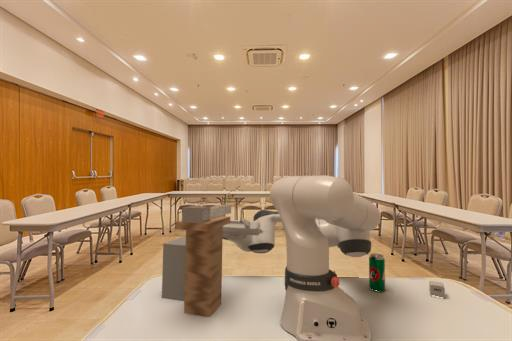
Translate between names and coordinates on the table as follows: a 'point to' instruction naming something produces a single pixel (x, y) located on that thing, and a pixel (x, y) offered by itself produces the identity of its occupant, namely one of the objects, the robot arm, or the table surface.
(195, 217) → the link bar
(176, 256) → the pedestal
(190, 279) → the brown wooden post
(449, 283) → the table surface
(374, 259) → the soda can
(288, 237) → the robot arm
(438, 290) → the usb wall charger
